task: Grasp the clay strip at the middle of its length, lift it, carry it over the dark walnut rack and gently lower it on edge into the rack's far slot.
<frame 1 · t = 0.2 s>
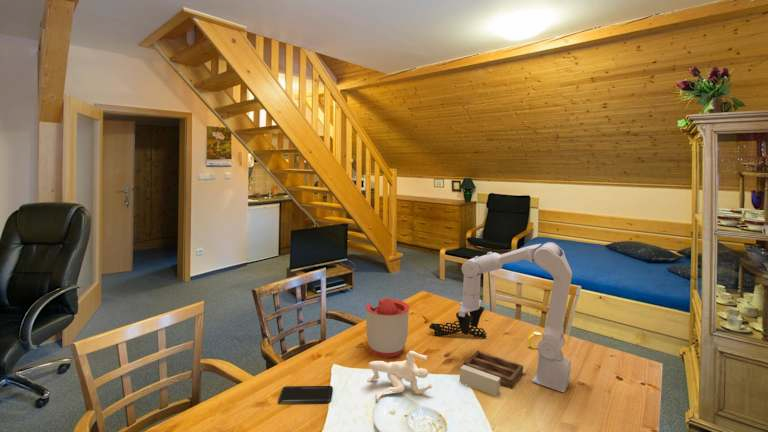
hand: (469, 330, 139), 10 cm above the table, tool pointing down, fingers open, 7 cm apart
rack: (492, 372, 130), on the table
phone: (306, 397, 115), on the table
citrus juicer: (385, 350, 144), on the table
decorative element: (457, 336, 157), on the table
person figurine: (398, 389, 120), on the table
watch: (535, 348, 148), on the table
clay strip: (479, 387, 121), on the table
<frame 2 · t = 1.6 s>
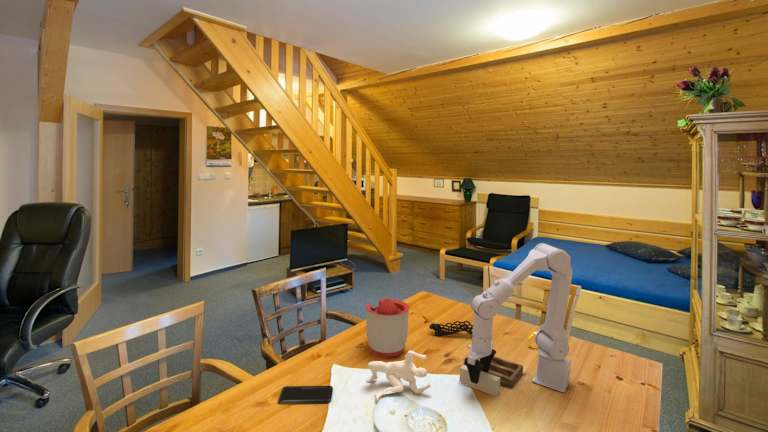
hand: (479, 377, 121), 3 cm above the table, tool pointing down, fingers open, 7 cm apart
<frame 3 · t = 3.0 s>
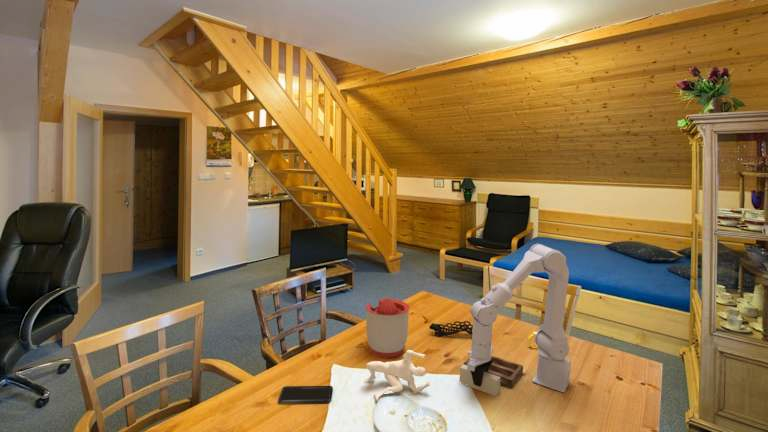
hand: (479, 382, 121), 1 cm above the table, tool pointing down, fingers closed on clay strip, 2 cm apart
clay strip: (479, 387, 121), on the table, touching gripper
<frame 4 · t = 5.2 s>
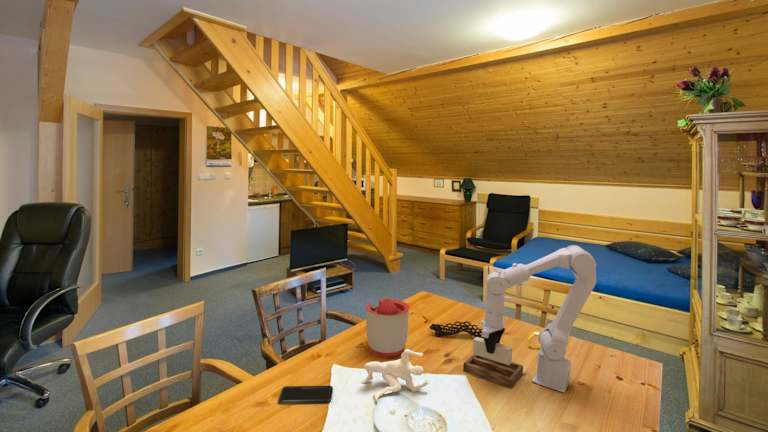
hand: (492, 350, 127), 8 cm above the table, tool pointing down, fingers closed on clay strip, 2 cm apart
clay strip: (491, 357, 127), point 6 cm above the table, touching gripper
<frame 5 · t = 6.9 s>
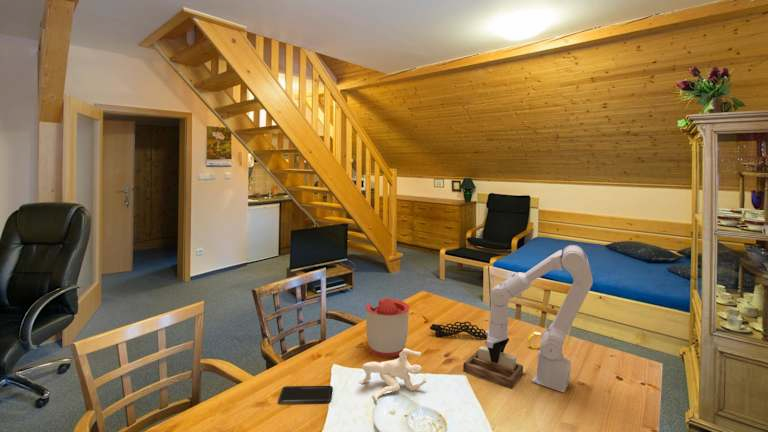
hand: (496, 360, 131), 3 cm above the table, tool pointing down, fingers closed on clay strip, 2 cm apart
clay strip: (496, 366, 132), point 1 cm above the table, touching gripper, rack
when the fingers open (3 cm above the table, at t = 7.5 s): clay strip stays where it is, resting on rack.
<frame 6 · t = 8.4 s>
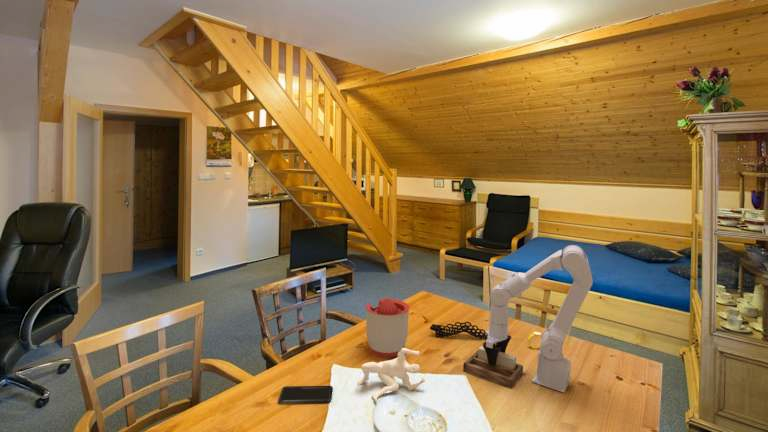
hand: (496, 360, 131), 3 cm above the table, tool pointing down, fingers open, 7 cm apart
clay strip: (496, 366, 132), point 1 cm above the table, touching rack
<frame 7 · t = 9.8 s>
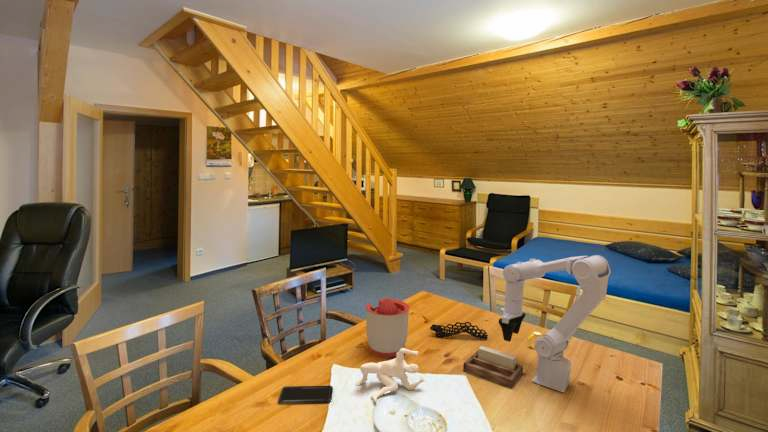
hand: (511, 336, 135), 9 cm above the table, tool pointing down, fingers open, 7 cm apart
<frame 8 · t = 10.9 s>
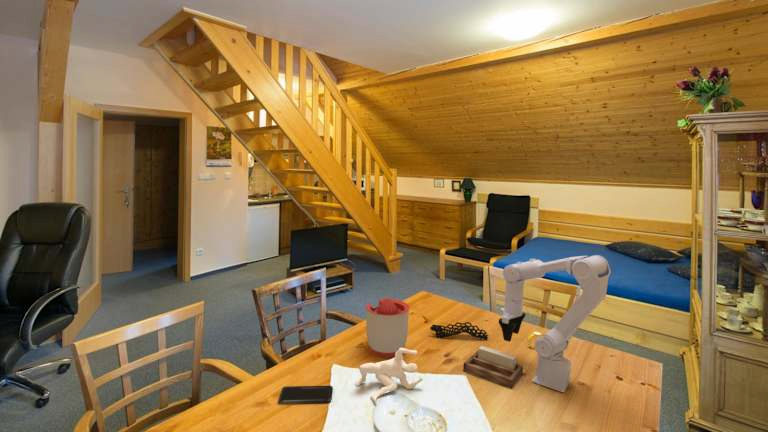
hand: (511, 336, 135), 9 cm above the table, tool pointing down, fingers open, 7 cm apart
at the end: clay strip 0.1 cm from the target spot on the rack, point 1.0 cm above the rack's base; clay strip tilted 0°; the gripper is holding nothing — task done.
